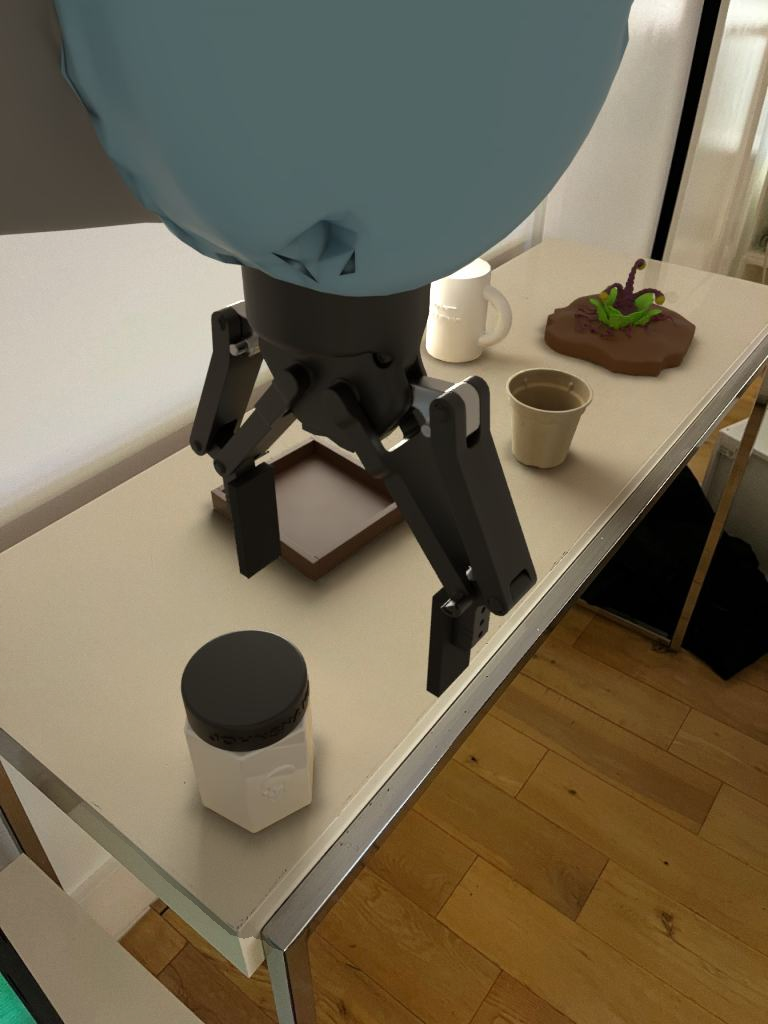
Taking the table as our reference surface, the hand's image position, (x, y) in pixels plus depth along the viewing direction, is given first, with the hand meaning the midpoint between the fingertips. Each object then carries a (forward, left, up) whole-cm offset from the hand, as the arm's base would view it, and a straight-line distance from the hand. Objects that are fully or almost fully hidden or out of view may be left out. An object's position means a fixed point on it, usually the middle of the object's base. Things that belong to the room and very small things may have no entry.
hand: (347, 617), depth 43 cm
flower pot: (+46, +16, -21) cm, 53 cm away
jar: (-3, +7, -21) cm, 22 cm away
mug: (+59, +37, -21) cm, 73 cm away
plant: (+78, +24, -21) cm, 84 cm away
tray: (+21, +27, -20) cm, 40 cm away
